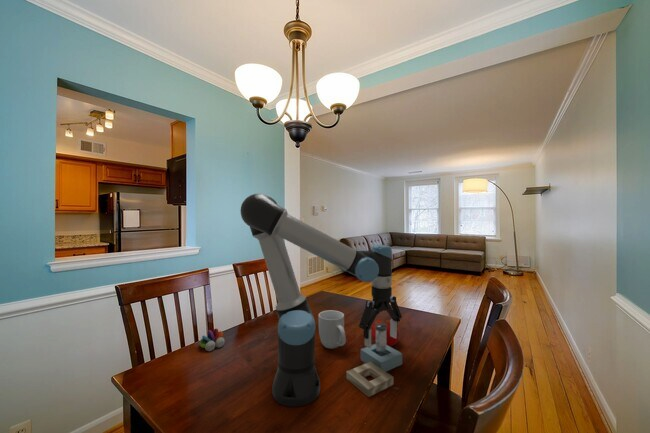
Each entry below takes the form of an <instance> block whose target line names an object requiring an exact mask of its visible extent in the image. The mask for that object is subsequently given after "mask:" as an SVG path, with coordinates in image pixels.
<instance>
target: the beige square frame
mask: <svg viewBox="0 0 650 433" xmlns="http://www.w3.org/2000/svg"><path fill="white" fill-rule="evenodd" d="M345 372H346V375H345V376H346V378H345V379H346V380H347V381H349V382H350V383H351V384H352V385H354V387H356V388H357V389H358V390H359V391H360V392H361V393H363V395H365V396H366V397H368V398H370V397H372V396H374V395H376V394H378V393H380V392H382V391H384V390H386V389H388V388H390V387H392V386H393V385H394V376H392V375H391V374H390V373H388V372H387V371H386V372H385V371H383V370H382V369H380V368H379V367H377V366H376V365H374V364H373V363H371V362H368V363H363V364H361V365H359V366H356V367H354V368H352V369H349V370H346V371H345ZM369 376H371V377H372V378H374V379H372V380H368V379H367V378H366V377H369Z"/></svg>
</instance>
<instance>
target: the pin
mask: <svg viewBox="0 0 650 433" xmlns="http://www.w3.org/2000/svg"><path fill="white" fill-rule="evenodd" d="M375 329H376V342H375V344H376V354H377V355H379V356H381V357H382V356H384V355H386V330H387V325H386V324H384V323H376V324H375Z"/></svg>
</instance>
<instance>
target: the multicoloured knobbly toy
mask: <svg viewBox="0 0 650 433" xmlns="http://www.w3.org/2000/svg"><path fill="white" fill-rule="evenodd" d="M223 336H224V332H223V331H219V329H218V328H214V329H213V330H211V329H208V331H207V336H206V335H204V334H203V335H202V336H201V339H200V340H199V343H198V344H199V346H200V347H201V348H202V349H205V351H207V352H212V351H213V350H214V349H215V348H221V347H223V346H224V345H225V338H224V337H223Z"/></svg>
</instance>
